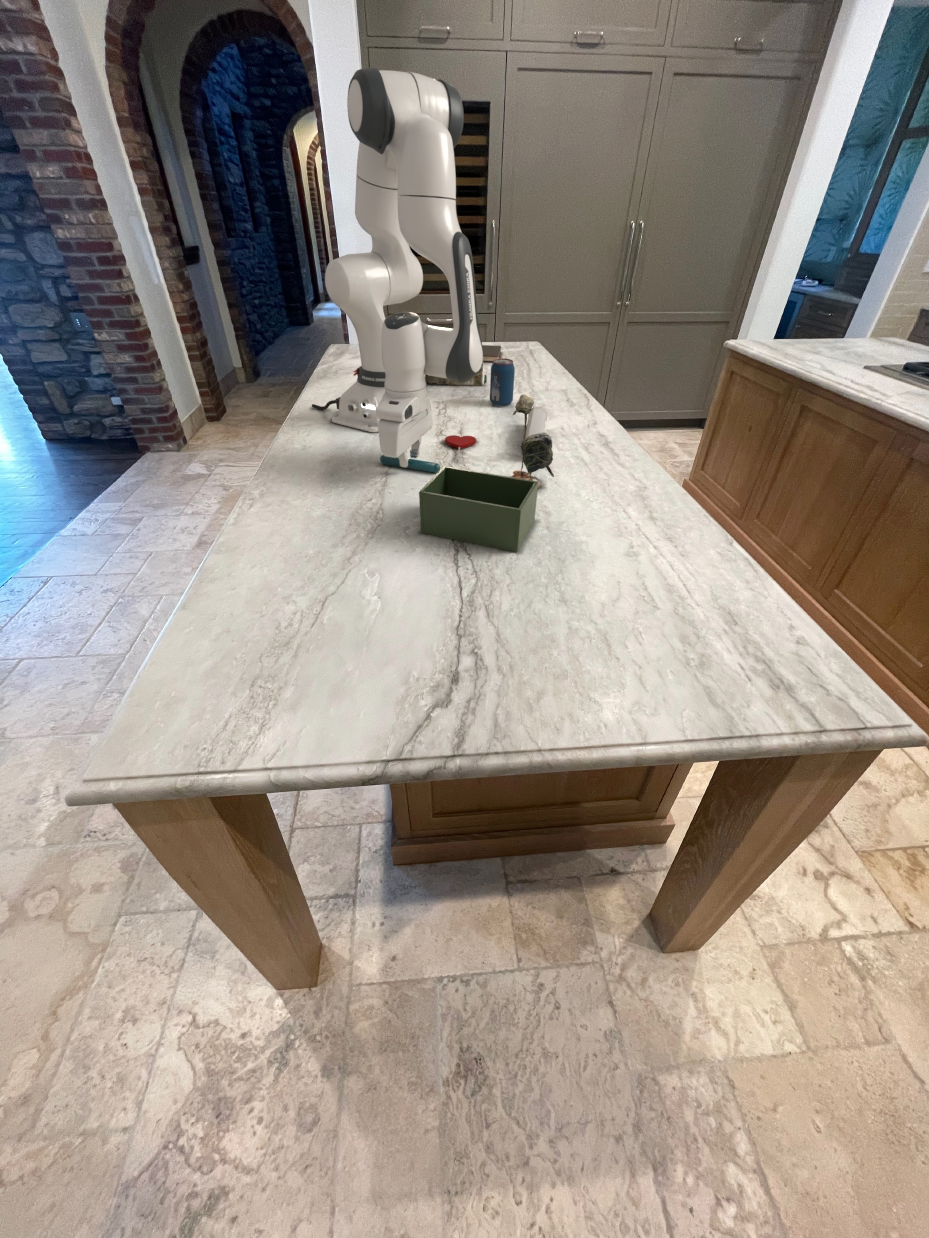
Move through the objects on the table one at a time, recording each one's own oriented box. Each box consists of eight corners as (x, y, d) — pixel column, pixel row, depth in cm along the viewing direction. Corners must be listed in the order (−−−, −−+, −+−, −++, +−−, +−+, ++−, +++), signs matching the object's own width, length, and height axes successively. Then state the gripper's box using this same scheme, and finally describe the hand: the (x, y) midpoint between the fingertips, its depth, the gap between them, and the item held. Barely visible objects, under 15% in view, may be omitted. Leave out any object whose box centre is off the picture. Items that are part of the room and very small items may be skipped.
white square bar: (546, 447, 125) (550, 410, 144) (525, 438, 125) (532, 403, 144) (536, 466, 129) (542, 428, 148) (516, 458, 128) (524, 421, 147)
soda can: (512, 400, 164) (515, 358, 156) (512, 408, 158) (514, 364, 151) (490, 399, 164) (491, 357, 156) (488, 407, 159) (490, 363, 151)
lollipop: (474, 462, 127) (476, 439, 139) (474, 459, 127) (476, 435, 138) (440, 461, 128) (445, 438, 139) (440, 458, 127) (445, 434, 139)
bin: (420, 532, 102) (418, 491, 97) (444, 504, 111) (444, 465, 106) (517, 552, 97) (520, 510, 92) (534, 521, 106) (538, 481, 101)
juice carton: (485, 377, 182) (485, 357, 178) (486, 386, 175) (487, 366, 171) (426, 377, 182) (425, 358, 178) (425, 386, 175) (424, 366, 171)
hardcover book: (498, 362, 197) (498, 355, 196) (436, 360, 199) (436, 353, 197) (500, 351, 209) (500, 345, 208) (442, 349, 211) (442, 343, 210)
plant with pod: (551, 496, 115) (563, 400, 102) (498, 491, 116) (504, 396, 103) (553, 480, 121) (565, 387, 108) (504, 475, 122) (509, 383, 110)
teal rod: (378, 465, 126) (377, 456, 125) (383, 461, 128) (382, 452, 126) (438, 475, 122) (438, 465, 121) (441, 471, 124) (441, 462, 122)
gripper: (413, 385, 124) (416, 443, 132) (371, 412, 109) (377, 476, 118) (438, 388, 122) (439, 447, 131) (399, 416, 107) (403, 481, 116)
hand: (409, 461), depth 124 cm, fingers open, 4 cm apart
